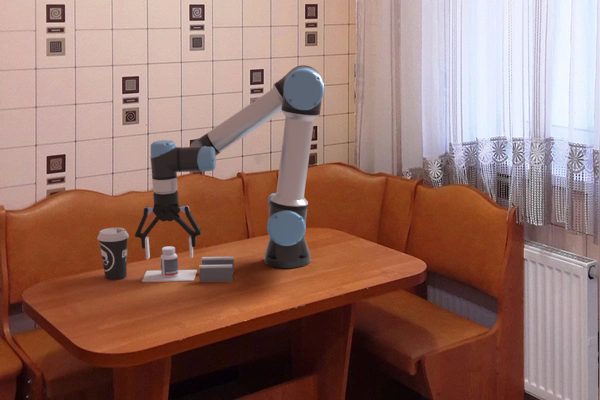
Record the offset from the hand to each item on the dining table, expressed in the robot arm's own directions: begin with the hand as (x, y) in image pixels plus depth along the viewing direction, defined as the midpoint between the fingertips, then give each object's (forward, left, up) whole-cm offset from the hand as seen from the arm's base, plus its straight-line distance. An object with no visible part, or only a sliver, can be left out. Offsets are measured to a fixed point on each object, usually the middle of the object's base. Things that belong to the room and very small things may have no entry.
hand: (169, 257), depth 264 cm
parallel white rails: (-15, +1, -6) cm, 16 cm away
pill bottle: (0, 0, -6) cm, 6 cm away
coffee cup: (+17, -1, -6) cm, 18 cm away
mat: (0, 0, -6) cm, 6 cm away
